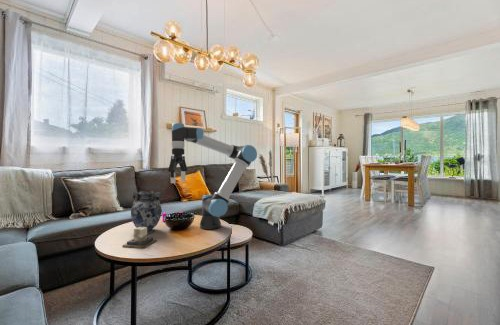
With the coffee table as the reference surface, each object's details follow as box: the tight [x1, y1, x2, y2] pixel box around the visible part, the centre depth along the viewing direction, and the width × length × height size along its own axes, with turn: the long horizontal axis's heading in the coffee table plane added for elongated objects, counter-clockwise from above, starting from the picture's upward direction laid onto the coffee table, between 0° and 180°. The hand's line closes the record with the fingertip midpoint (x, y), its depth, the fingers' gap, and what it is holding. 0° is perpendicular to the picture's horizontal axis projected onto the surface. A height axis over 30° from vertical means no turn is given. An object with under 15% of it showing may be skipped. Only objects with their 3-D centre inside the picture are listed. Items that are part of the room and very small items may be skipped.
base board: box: [122, 236, 158, 249], centre depth 138 cm, size 13×13×2 cm
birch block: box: [133, 227, 148, 242], centre depth 138 cm, size 5×5×8 cm
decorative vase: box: [130, 189, 163, 235], centre depth 160 cm, size 21×19×28 cm
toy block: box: [161, 211, 184, 223], centre depth 189 cm, size 15×6×8 cm, turn 112°
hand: (178, 182), depth 150 cm, fingers open, 13 cm apart
